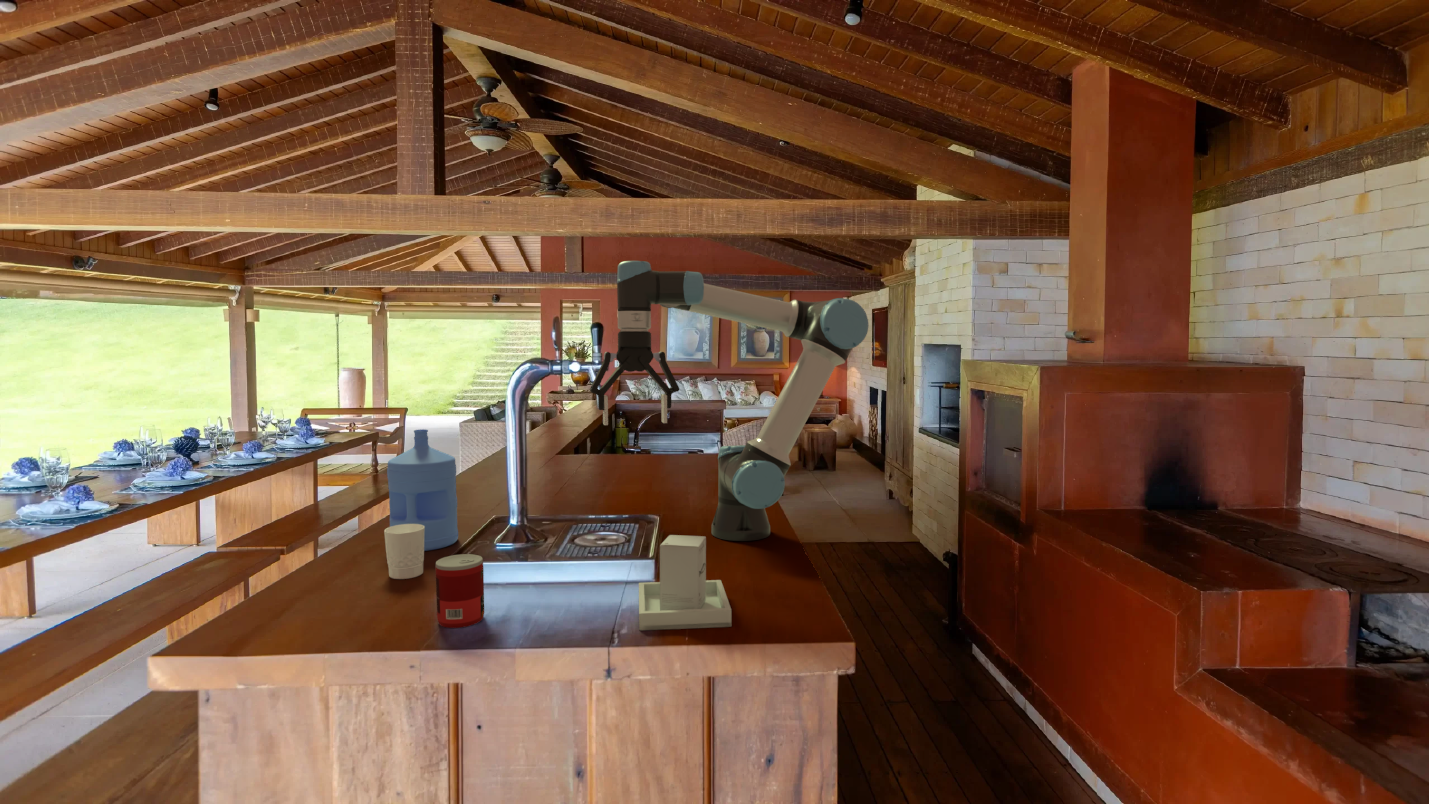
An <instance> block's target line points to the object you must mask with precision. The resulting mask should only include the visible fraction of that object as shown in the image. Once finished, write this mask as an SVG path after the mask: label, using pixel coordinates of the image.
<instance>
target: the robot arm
mask: <svg viewBox="0 0 1429 804" xmlns="http://www.w3.org/2000/svg"><path fill="white" fill-rule="evenodd" d="M651 265H652V264H651V263H650V262H648V261H643V260H624V261H621V262H620V263H619V264H618V265H617V273H616V274H617V278H616V279H617V280H616V293H617V295H616V296H617V301H616V302H617V329H618V330H619V331H618V333H617V352H614V353H613V352H609V351H605V352H604V353H603V358H602V360H603V361H602V363H601V365H600V367H599V370H598V372H597V374H596V376H595V378H594V379H593V382H592V384H591V386H590V388H589V392H590V393H591V394H595V395H596V396H597V407H598V408H597V409H598V410H599V411H602V424H603V426H608V425H609V402H608V401H609V399H608V398H609V396H608V395H606V393H607V392H608V391H609V390H610V388H611V387H612V386H613V385H614V383H615V382H616V381H617V380H618V379H619V377H620V376H621V375H622V374H623V373H624V372H625V371H626V372H629V373H631V372H635V371H636V372H639V373H640V372H644V371H645V372H646V373H647V374H648V375H649V377H651V379H652V380H653V381H654V382H655V383H656V384H657V386H659V388H660V389H661V391H663V392H664V393H663V394H661V395H660V396H661V397H660V398H661V400H660V401H661V402H660V403H661V406H660V407H661V409H660V410H661V412H660V413H661V414H660V415H661V419H660V420H661V423H663V424H668V409H671V408H672V395H673V394H674V393H676V392H679V391H680V386H679V385H678V382H677V380H676V379H675V377H674V375H673V373H672V371H671V369H670V367H669V365H668V362H667V361H666V360H667V358H666V353H665V352H664V351H658V352H653V351H652V333H651V331H649V330H650V329H651V328H652V317H651V315H652V314H651V310H652V305H660V306H661V307H663V308H667V309H677V310H681V311H685V312H686V311H687V312H691V313H696V314H702V315H704V316H705V315H706V316H709V317H714V318H719V319H723V320H727V321H733V322H737V323H742V324H746V325H751V326H754V327H755V326H756V327H759V328H760V327H761V328H764V329H770V330H774V331H778V332H782V333H783V335H784V336H785V337H786V338H791V339H796V340H799V341H800V342H801V344H802V348H803V349H802V352H801V354H800V356H799V357H798V360H797V361H796V363H795V365H794V367H793V369H792V371H791V373H790V374H789V377H788V378H787V380H786V382H785V383H784V386H783V388H782V389H781V391H780V393H779V395H778V397H777V399H776V401H775V403H773V406H772V408H771V410H770V412H769V414H768V416H767V418H766V420H765V421H764V423H763V425H762V427H761V429H760V430H759V432H758V435H757V436H756V438H754V439H750V440H747V442H746V443H745V445H741V444H740V445H739V444H738V445H723V446H721V447H719V449H718V454H717V455H718V456H717V462H718V469H717V470H718V474H717V475H718V481H717V482H718V485H717V487H718V495H717V496H718V497H717V498H718V500H717V501H718V504H717V507H716V511H715V513H714V517H713V520H712V522H711V535H712V536H714V537H715V538H717V539H721V540H724V541H730V542H731V541H732V542H733V541H734V542H751V541H758V540H763V539H765V538H766V539H767V538H769V536H770V535H771V525H770V522H769V517H768V515H767V512H766V508H770V507H771V506H773V505H774V504H776V503H777V502H778V501H779V500H780V499H781V497H782V495H783V493H784V491H785V486H786V481H785V480H786V479H785V477H786V474H787V473H788V471H789V469H790V467H791V464H792V463H791V460H790V453H791V451H792V449H793V447H794V446H795V444H796V442H797V440H798V438H799V436H800V434H801V432H802V430H803V429H804V426H806V422H807V421H808V419H809V417H810V415H811V414H812V412H813V410H814V408H815V406H816V404H817V402H818V401H819V398H820V397H821V395H822V392H823V390H824V389H825V387H826V385H827V383H828V381H829V379H830V378H831V376H832V374H833V372H834V370H835V369H836V367H837V366H839V365H843V364H845V363H846V361H847V359H848V358H849V355H850V354H851V352H852V350H853V349H855V348H856V347H858V346H859V345H861V344H862V342H863V341H864V340H865V338H866V337H867V335H868V331H869V319H868V315H867V313H866V311H865V309H864V308H863V307H862V305H860V303H859V302H856V301H855V300H853V299H850V298H843V297H838V298H833V299H830V300H829V299H828V300H822V301H802V300H799V299H792V300H791V301H789V302H788V301H783V300H779V299H775V298H771V297H766V296H762V295H758V294H757V295H756V294H752V293H748V292H744V291H740V290H735V289H730V288H727V287H722V286H718V285H717V286H716V285H713V284H708V283H705V282H704V277H703V275H702V273H701V272H698V271H689V270H685V271H683V270H682V271H681V270H680V271H679V270H677V271H676V270H675V271H674V270H671V271H670V270H669V271H665V270H664V271H661V270H660V271H658V270H652V267H651ZM614 359H616V361H617V362H618V363H619V364H618V366H617V367H616V368H615V370H614V372H612V374H611V375H610V376H609V378H607V380H606V381H605V382H604V384H602V386H601V387H600V385H601V383H602V381H603V378H604V376H605V375H606V372H607V370H608V368H609V366H610V364H611V363H613V361H614ZM653 359H655V362H658V364H659V367H661V369H662V372H663V374H664V376H665V378H666V380H667V382H668V384H669V386H670V387H669V386H668V385H667V384H666V382H665V381H664V380H663V379H662V378H661V377H660V375H659V374H658V373H657V372H656V370H655V369H654V368H653V367H652V366H651V364H650V363H651V362H652V361H653ZM599 387H600V388H599Z"/></svg>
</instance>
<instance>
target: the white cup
mask: <svg viewBox="0 0 1429 804" xmlns="http://www.w3.org/2000/svg"><path fill="white" fill-rule="evenodd" d="M383 532H384V533H383V534H384V543H385V545H384V546H385V552H386V560H387V561H386V562H387V563H386V564H387V568H388V575H389V577H390V578H391V579H393V580H405V579H406V580H407V579H412V578H417V577H419V576H421V575H422V574H424V560H425V551H424V532H425V527H424V526H423V525H421V524H401V525H395V526H391V527H390V526H388V527H387V528H385V529H384V530H383Z"/></svg>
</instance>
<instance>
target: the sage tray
mask: <svg viewBox="0 0 1429 804" xmlns="http://www.w3.org/2000/svg"><path fill="white" fill-rule="evenodd" d="M638 622H639V623H638V625H639V629H638V630H639V631H659V630H681V629H683V630H684V629H685V630H686V629H707V628H709V629H710V628H729V627H731V628H732V608H731V605H730V602H729V599H728V596H727V593H726V591H725V588H724V585H723V583H722V580H721V579H711V580H709V579H706V601H705V602H704V604H703V606H702V607H701V609H689V610H663V611H660V581H655V582H654V581H652V582H650V581H649V582H638Z"/></svg>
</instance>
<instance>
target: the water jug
mask: <svg viewBox="0 0 1429 804" xmlns="http://www.w3.org/2000/svg"><path fill="white" fill-rule="evenodd" d="M428 432H429V429H426V428H425V429H424V428H423V429H415V430H413V433H414V436H413V440H414V446H413V447H412V448H410V449H408V450H405V451H404V452H402V453H401V454H399V455H396V456H395V457H393V458H390V459H389V460H388V461H387V468H386V471H387V472H386V476H387V483H388V496H389V502H388V503H389V527H391V526H395V525H401V524H421V525H423V526H424V527H425V532H424V552H427V551H434V550H439V549H443V548H446V547H449V546H451V545H454V544H455V543H456V542H457V541H458V539H459V529H458V497H457V477H456V476H457V464H456V458H455V457H454V456H453V455H450V454H449V453H446V452H443V451H440V450H438V449H435V448H433V447H431V446H430V445H429V435H428Z"/></svg>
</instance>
